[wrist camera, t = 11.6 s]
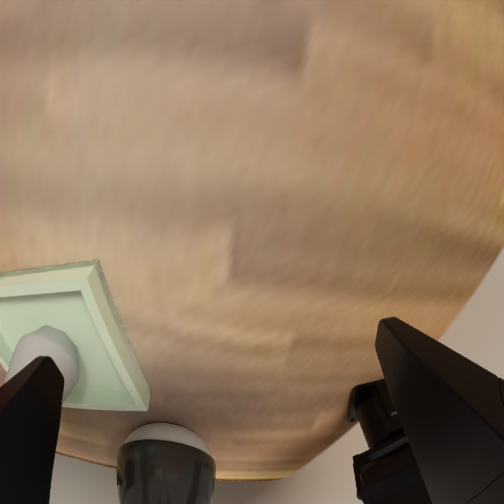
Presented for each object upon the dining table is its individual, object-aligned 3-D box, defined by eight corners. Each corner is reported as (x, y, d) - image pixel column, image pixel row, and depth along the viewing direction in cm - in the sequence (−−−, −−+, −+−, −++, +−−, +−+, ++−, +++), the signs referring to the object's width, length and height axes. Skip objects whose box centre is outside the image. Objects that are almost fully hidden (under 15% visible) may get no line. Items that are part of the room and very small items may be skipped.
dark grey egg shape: (145, 455, 32) (136, 561, 19) (107, 410, 28) (82, 541, 14) (224, 452, 32) (231, 566, 19) (201, 406, 28) (202, 556, 14)
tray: (151, 390, 26) (147, 411, 24) (36, 386, 26) (29, 403, 24) (98, 259, 20) (86, 278, 18) (-26, 276, 19) (-40, 291, 17)
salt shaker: (97, 368, 23) (59, 505, 12) (46, 368, 23) (1, 486, 12) (68, 314, 21) (2, 462, 9) (17, 317, 21) (-52, 440, 9)
